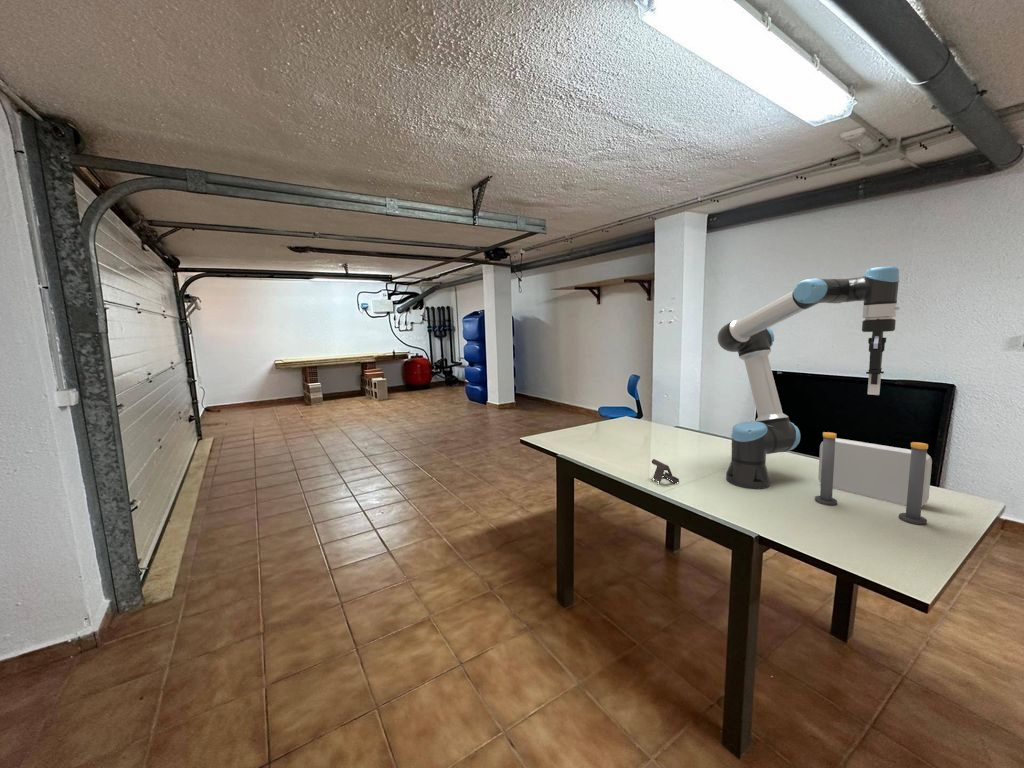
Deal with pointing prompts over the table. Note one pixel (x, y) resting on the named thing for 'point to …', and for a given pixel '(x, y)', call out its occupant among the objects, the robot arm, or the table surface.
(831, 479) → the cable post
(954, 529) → the table surface
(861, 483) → the rounded white slab
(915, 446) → the cable post
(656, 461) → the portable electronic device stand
